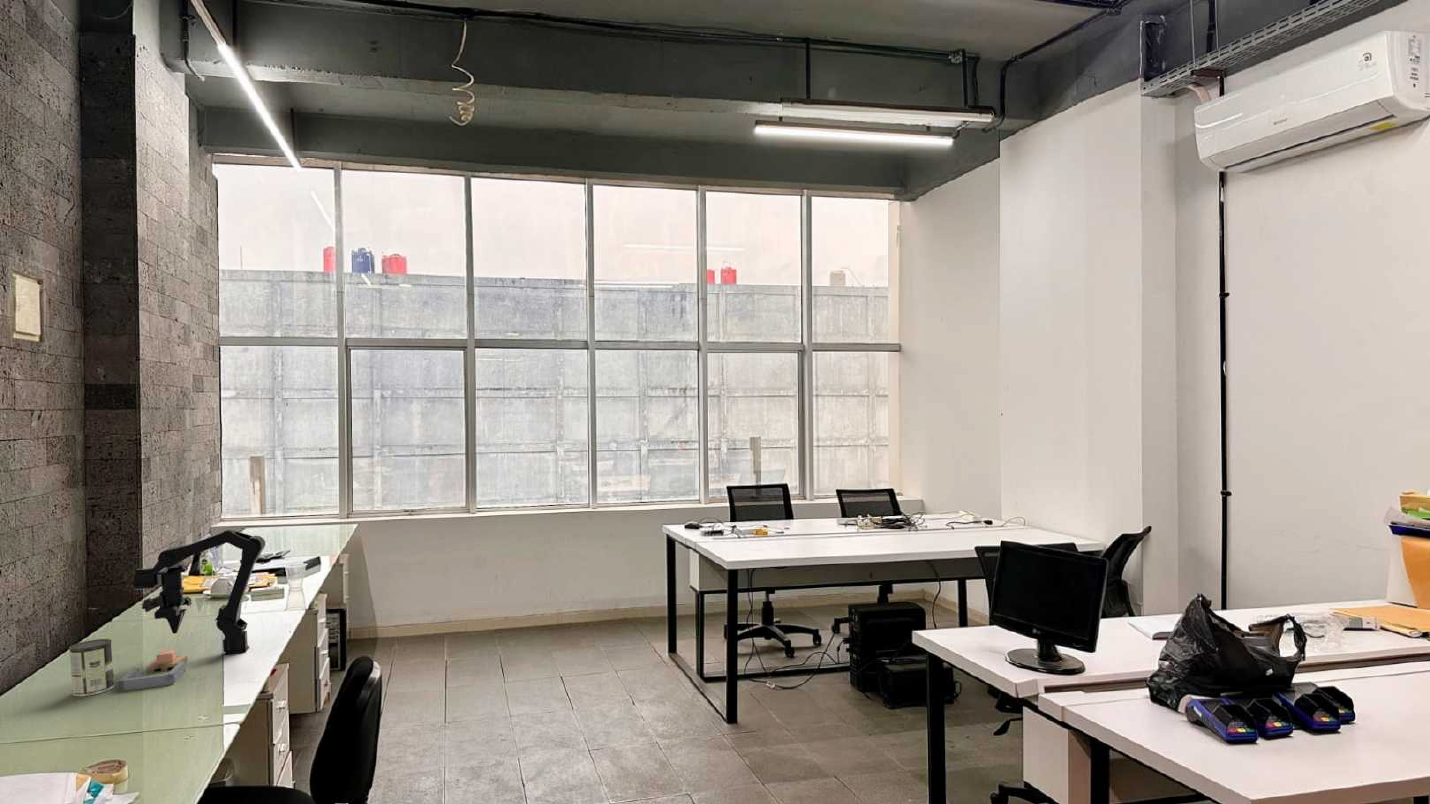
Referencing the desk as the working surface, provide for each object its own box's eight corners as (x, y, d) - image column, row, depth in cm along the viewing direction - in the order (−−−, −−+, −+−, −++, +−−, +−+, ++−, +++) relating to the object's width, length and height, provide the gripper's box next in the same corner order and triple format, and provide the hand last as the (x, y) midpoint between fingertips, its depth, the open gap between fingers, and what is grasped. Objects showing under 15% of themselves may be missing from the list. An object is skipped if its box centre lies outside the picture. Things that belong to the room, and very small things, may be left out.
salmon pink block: (176, 658, 283) (176, 649, 283) (172, 662, 278) (172, 653, 278) (161, 660, 281) (160, 651, 281) (156, 664, 277) (156, 655, 277)
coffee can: (98, 683, 266) (95, 637, 266) (122, 685, 263) (119, 639, 263) (63, 695, 257) (60, 647, 257) (88, 697, 253) (85, 649, 253)
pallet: (188, 661, 286) (187, 654, 286) (180, 669, 278) (179, 662, 278) (156, 665, 284) (156, 658, 284) (147, 673, 275) (147, 666, 275)
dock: (185, 670, 275) (185, 661, 275) (173, 684, 262) (172, 674, 262) (134, 677, 271) (133, 667, 271) (118, 691, 258) (117, 681, 258)
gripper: (153, 583, 295) (156, 629, 296) (134, 595, 278) (137, 644, 278) (190, 579, 299) (193, 625, 299) (174, 591, 281) (177, 639, 281)
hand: (175, 633), depth 289 cm, fingers closed
